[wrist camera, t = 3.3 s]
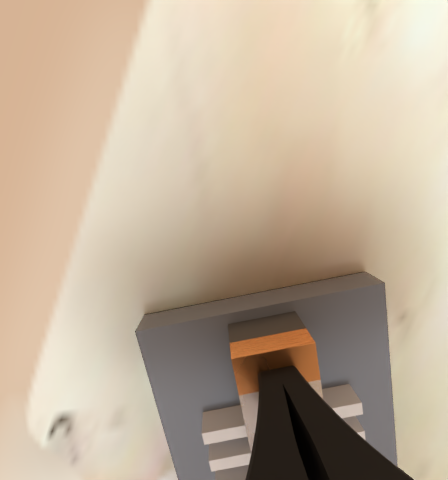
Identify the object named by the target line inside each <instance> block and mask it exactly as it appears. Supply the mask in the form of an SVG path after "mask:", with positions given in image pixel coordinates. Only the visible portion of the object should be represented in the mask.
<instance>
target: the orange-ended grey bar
mask: <svg viewBox="0 0 448 480" xmlns="http://www.w3.org/2000/svg"><path fill="white" fill-rule="evenodd" d="M230 352H231V361H232V366H233V370H234V375H235V380H236V384H237V389H238V394H239V399H240V403H241V408H242V413H243V418H244V422H245V427H246V432H247V437H248V441H249V446H250V451H251V452H252V447H253V441H254V435H255V429H256V422H257V412H258V401H259V381H258V374H259V372H261V371H266V370H271V369H276V368H282V367H287V366H292V365H293V366H295V367H296V368H297V369H298V371H299V372H300V373H301V375H302V376H303V377H304V378H305V380H306V381H307V382H308V383H309V384H310V385H311V387H312V388H313V389H314V390H315V391H316V392H317V393H318V394H319V396H320V397H321V398H322V399H323V393H322V386H321V379H320V371H319V364H318V357H317V350H316V343H315V341H314V340H313V338H312V337H311V335H310V333H309V332H308V330H307V329H306V328H304V329H299V330H294V331H289V332H283V333H278V334H273V335H268V336H263V337H258V338H253V339H247V340H242V341H237V342H232V343H230Z"/></svg>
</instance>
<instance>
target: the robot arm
mask: <svg viewBox="0 0 448 480" xmlns="http://www.w3.org/2000/svg"><path fill="white" fill-rule="evenodd" d="M258 381H259V401H258V412H257V422H256V429H255V435H254V441H253V447H252V452H251V457H250V462H249V467H248V471H247V475H246V479H245V480H414V479H412V478H411V477H410V476H409V475H407V474H406V473H405V472H403V471H402V470H401V469H400V468H398V467H397V466H396V465H394V464H393V463H392V462H391V461H389V460H388V459H387V458H386V457H385V456H383V455H382V454H381V453H380V452H379V451H377V450H376V449H375V448H374V447H373V446H371V445H370V444H369V443H368V442H367V441H366V440H365V439H363V438H362V437H361V436H360V435H359V434H358V433H357V432H356V431H355V430H354V429H353V428H351V427H350V426H349V425H348V424H347V423H346V422H345V421H344V420H343V419H342V418H341V417H340V416H339V415H338V414H337V413H336V412H335V411H334V410H333V409H332V408H331V407H330V406H329V405H328V404H327V403H326V402H325V401H324V400H323V399H322V398H321V397H320V396H319V394H318V393H317V392H316V391H315V390H314V389H313V388H312V387H311V385H310V384H309V383H308V382H307V381H306V380H305V378H304V377H303V376H302V375H301V373H300V372H299V371H298V369H297V368H296V367H295V366H293V365H292V366H287V367H282V368H276V369H271V370H266V371H261V372H259V374H258Z"/></svg>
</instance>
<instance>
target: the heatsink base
mask: <svg viewBox="0 0 448 480" xmlns="http://www.w3.org/2000/svg"><path fill="white" fill-rule="evenodd" d="M304 328H306V329H307V330H308V332H309V333H310V335H311V337H312V338H313V340H314V341H315V343H316V350H317V357H318V364H319V371H320V379H321V386H322V393H323V400H324V401H325V402H326V403H327V404H328V405H329V406H330V407H331V408H332V409H333V410H334V411H335V412H336V413H337V414H338V415H339V416H340V417H341V418H342V419H343V420H344V421H345V422H346V423H347V424H348V425H349V426H350V427H351V428H353V429H354V430H355V431H356V432H357V433H358V434H359V435H360V436H361V437H362V438H363V439H365V440H366V441H367V442H368V443H369V444H370V445H371V446H373V447H374V448H375V449H376V450H377V451H379V452H380V453H381V454H382V455H383V456H385V457H386V458H387V459H388V460H389V461H391V462H392V463H393V464H394V465H396V466H397V453H396V439H395V424H394V410H393V396H392V381H391V367H390V353H389V338H388V324H387V310H386V296H385V283H384V282H382V281H381V280H379V279H377V278H375V277H374V276H372V275H370V274H368V273H367V272H361V273H356V274H351V275H346V276H341V277H336V278H331V279H326V280H320V281H315V282H310V283H305V284H300V285H295V286H290V287H285V288H280V289H274V290H269V291H264V292H259V293H254V294H249V295H244V296H239V297H233V298H228V299H223V300H218V301H213V302H208V303H203V304H198V305H193V306H187V307H182V308H177V309H172V310H167V311H162V312H157V313H152V314H147V315H144V316H143V318H142V320H141V322H140V324H139V325H138V327H137V329H136V331H135V333H136V336H137V340H138V343H139V346H140V350H141V353H142V357H143V360H144V364H145V367H146V370H147V374H148V377H149V381H150V384H151V388H152V391H153V394H154V398H155V401H156V405H157V408H158V412H159V415H160V419H161V422H162V425H163V429H164V432H165V436H166V439H167V443H168V446H169V449H170V453H171V456H172V460H173V463H174V467H175V470H176V473H177V477H178V480H245V479H246V475H247V471H248V467H249V462H250V457H251V451H250V446H249V441H248V437H247V432H246V427H245V422H244V418H243V413H242V408H241V403H240V399H239V394H238V389H237V384H236V380H235V375H234V370H233V366H232V361H231V352H230V343H232V342H237V341H242V340H247V339H253V338H258V337H263V336H268V335H273V334H278V333H283V332H289V331H294V330H299V329H304Z"/></svg>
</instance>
